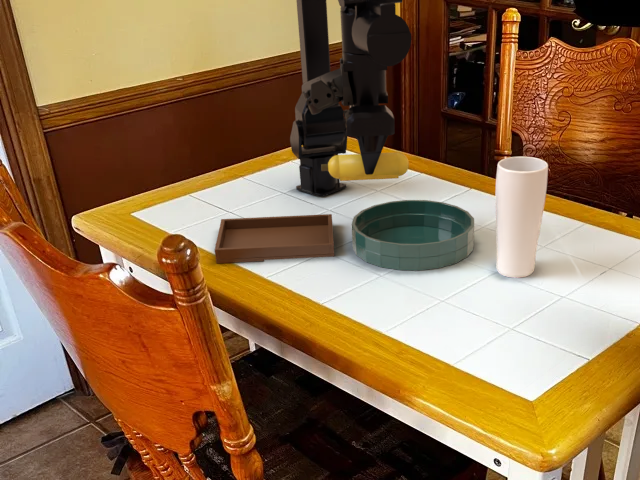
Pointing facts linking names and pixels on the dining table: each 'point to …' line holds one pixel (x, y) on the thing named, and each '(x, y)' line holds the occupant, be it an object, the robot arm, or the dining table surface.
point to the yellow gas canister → (354, 169)
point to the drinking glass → (519, 213)
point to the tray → (274, 238)
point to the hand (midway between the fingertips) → (368, 170)
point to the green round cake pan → (413, 234)
